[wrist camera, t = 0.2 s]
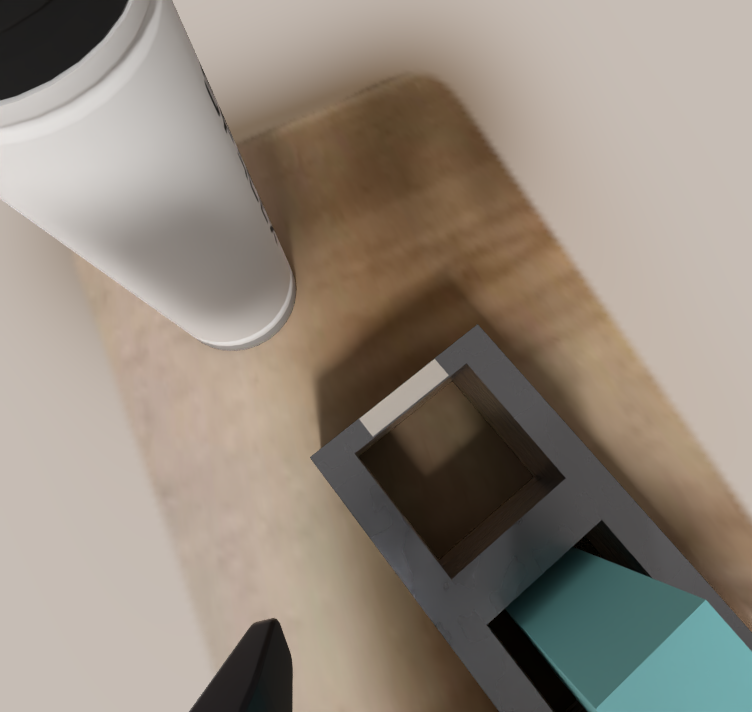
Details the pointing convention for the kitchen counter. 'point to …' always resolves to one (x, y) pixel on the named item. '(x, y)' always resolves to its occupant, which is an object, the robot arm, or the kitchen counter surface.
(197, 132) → the travel mug
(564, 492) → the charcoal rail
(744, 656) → the teal peg
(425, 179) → the kitchen counter surface
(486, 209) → the kitchen counter surface
